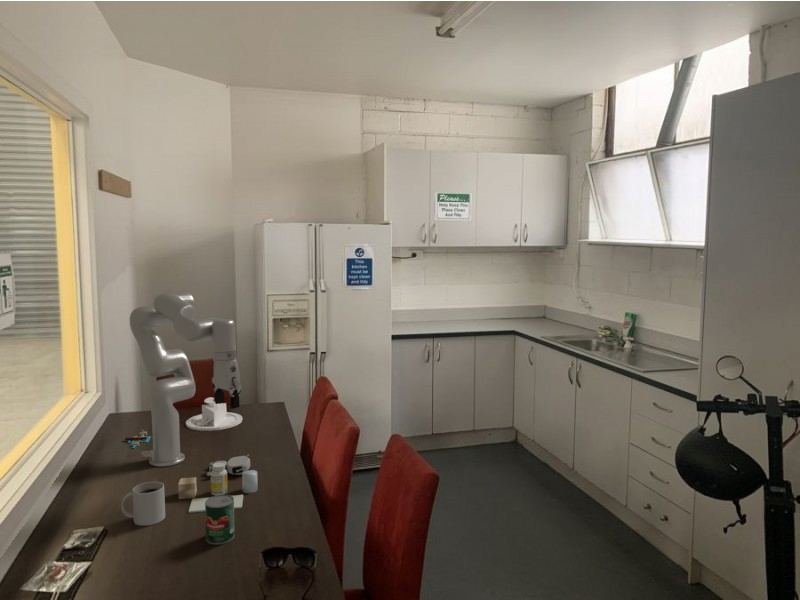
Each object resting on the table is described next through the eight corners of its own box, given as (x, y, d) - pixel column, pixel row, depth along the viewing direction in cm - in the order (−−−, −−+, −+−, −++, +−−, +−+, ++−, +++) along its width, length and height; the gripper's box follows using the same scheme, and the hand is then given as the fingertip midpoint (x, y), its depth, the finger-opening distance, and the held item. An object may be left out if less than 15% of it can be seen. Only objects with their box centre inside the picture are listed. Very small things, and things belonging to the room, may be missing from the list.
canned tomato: (207, 547, 163) (206, 508, 162) (204, 533, 170) (203, 497, 169) (236, 541, 166) (235, 503, 165) (232, 528, 173) (231, 492, 172)
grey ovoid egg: (242, 493, 197) (241, 476, 196) (242, 487, 202) (242, 470, 201) (257, 492, 198) (257, 475, 197) (257, 486, 203) (257, 469, 202)
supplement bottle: (216, 497, 194) (215, 469, 193) (207, 492, 197) (206, 465, 196) (230, 492, 198) (230, 464, 197) (221, 487, 201) (221, 460, 200)
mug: (171, 514, 182) (170, 483, 181) (149, 529, 173) (147, 496, 172) (143, 509, 185) (142, 478, 184) (120, 523, 176) (118, 490, 175)
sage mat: (188, 512, 183) (188, 511, 183) (192, 500, 192) (192, 498, 192) (241, 508, 186) (241, 506, 186) (243, 496, 195) (243, 494, 195)
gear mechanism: (118, 450, 237) (143, 449, 238) (118, 437, 236) (143, 436, 238) (132, 434, 256) (154, 433, 258) (131, 422, 256) (154, 421, 257)
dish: (187, 417, 281) (186, 394, 279) (241, 412, 288) (240, 390, 287) (184, 433, 257) (183, 408, 256) (243, 428, 265) (243, 403, 264)
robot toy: (206, 483, 207) (250, 477, 210) (204, 471, 207) (249, 464, 210) (210, 470, 219) (251, 464, 222) (208, 458, 219) (250, 452, 222)
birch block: (178, 499, 193) (178, 484, 192) (181, 492, 198) (180, 478, 197) (194, 497, 194) (194, 483, 193) (196, 491, 199) (196, 477, 198)
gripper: (248, 357, 196) (250, 407, 198) (221, 351, 208) (223, 399, 210) (228, 360, 191) (231, 412, 192) (201, 354, 203) (204, 403, 204)
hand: (227, 405), depth 201 cm, fingers open, 9 cm apart
